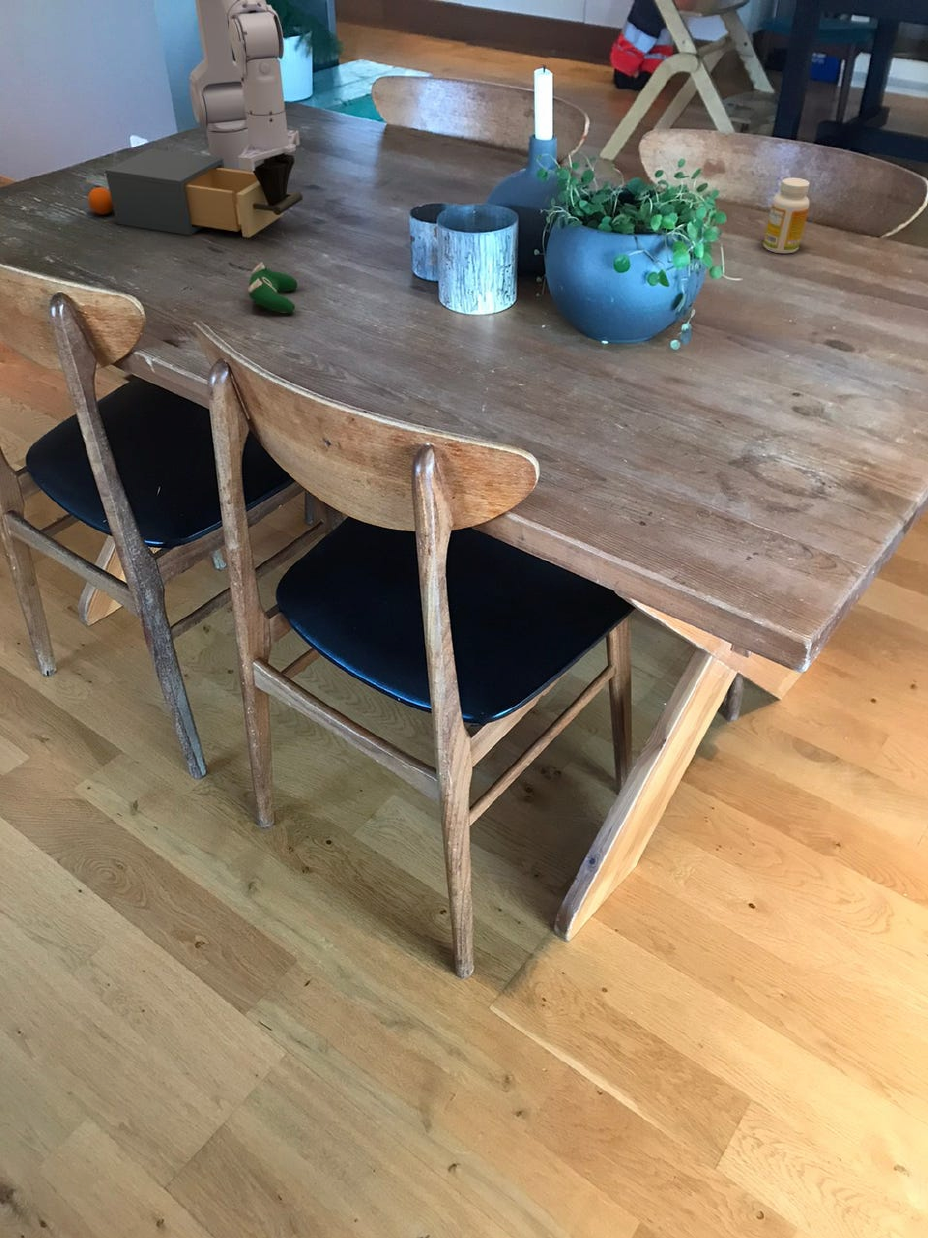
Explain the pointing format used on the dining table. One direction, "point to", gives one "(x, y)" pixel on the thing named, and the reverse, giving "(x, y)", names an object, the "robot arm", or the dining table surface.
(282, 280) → the green fabric slippers
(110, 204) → the ball
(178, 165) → the cabinet
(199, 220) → the drawer
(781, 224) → the supplement bottle
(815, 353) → the dining table surface
